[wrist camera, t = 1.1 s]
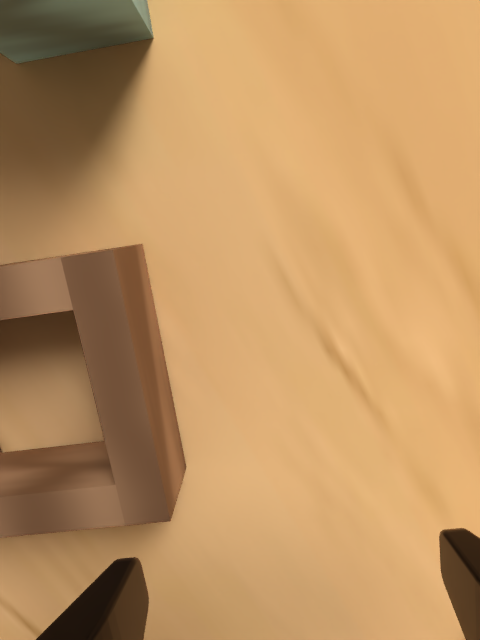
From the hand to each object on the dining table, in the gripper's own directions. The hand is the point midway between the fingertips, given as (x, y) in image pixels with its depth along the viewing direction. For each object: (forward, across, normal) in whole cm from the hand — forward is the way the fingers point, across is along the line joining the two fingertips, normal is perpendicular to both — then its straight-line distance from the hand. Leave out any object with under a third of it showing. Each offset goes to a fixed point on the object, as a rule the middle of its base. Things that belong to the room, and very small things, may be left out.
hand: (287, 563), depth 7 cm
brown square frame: (+13, +11, 0) cm, 17 cm away
